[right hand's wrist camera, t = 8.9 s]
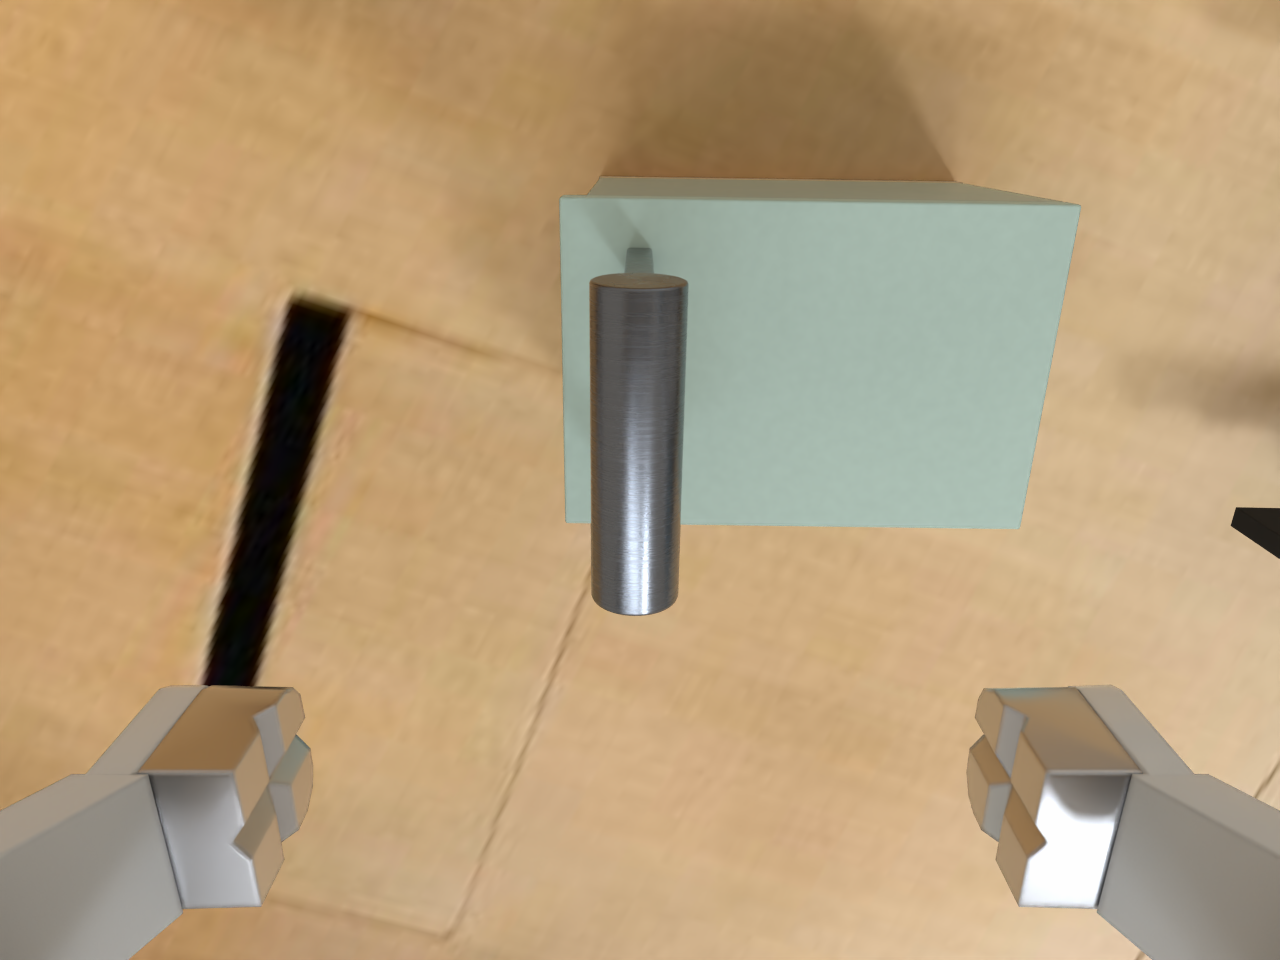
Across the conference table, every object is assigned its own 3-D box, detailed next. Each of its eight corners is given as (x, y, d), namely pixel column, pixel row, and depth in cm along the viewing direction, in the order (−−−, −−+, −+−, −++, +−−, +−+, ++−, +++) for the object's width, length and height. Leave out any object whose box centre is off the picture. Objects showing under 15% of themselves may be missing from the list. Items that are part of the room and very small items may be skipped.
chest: (600, 419, 37) (587, 512, 28) (599, 176, 34) (585, 194, 25) (921, 424, 37) (1008, 517, 28) (955, 181, 34) (1067, 201, 25)
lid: (567, 512, 28) (539, 658, 21) (561, 194, 25) (524, 226, 17) (1009, 518, 28) (1148, 666, 21) (1068, 202, 25) (1262, 237, 17)
